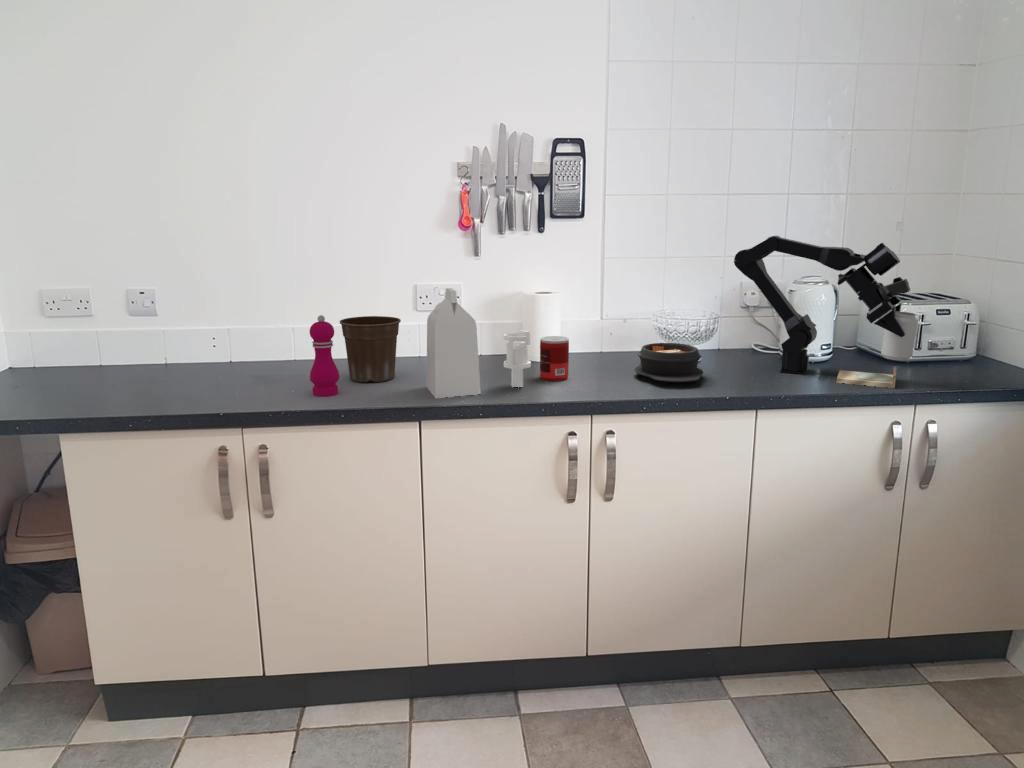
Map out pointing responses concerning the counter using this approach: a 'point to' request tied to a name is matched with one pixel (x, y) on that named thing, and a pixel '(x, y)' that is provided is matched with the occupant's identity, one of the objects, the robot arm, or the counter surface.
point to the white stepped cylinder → (517, 355)
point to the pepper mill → (323, 359)
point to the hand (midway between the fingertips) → (905, 333)
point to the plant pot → (371, 347)
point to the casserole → (669, 362)
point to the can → (900, 338)
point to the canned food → (554, 358)
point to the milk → (452, 350)
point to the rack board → (867, 378)
